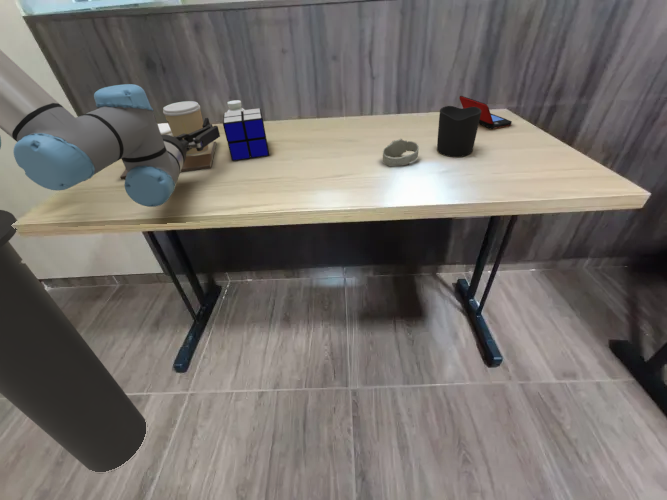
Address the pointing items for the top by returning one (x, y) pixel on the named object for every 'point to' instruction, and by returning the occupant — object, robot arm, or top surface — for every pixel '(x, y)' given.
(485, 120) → the handheld console
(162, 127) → the coaster
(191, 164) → the letter board
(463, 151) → the pen holder
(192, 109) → the coffee cup
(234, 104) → the pill bottle
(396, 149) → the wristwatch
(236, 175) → the top surface
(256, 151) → the puzzle cube
